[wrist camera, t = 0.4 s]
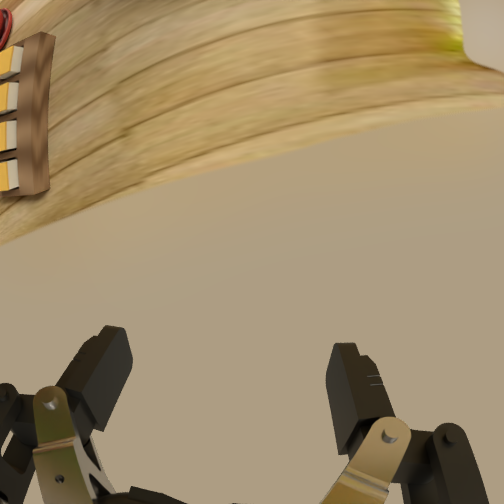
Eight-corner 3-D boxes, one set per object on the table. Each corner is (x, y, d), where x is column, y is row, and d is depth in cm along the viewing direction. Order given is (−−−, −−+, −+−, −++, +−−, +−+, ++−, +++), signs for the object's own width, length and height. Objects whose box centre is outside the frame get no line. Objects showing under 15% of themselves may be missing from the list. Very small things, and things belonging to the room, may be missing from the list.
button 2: (8, 89, 28) (-9, 89, 24) (24, 83, 28) (7, 82, 24) (7, 114, 30) (-10, 115, 26) (22, 108, 30) (5, 109, 26)
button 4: (7, 160, 33) (-10, 165, 29) (22, 157, 33) (5, 161, 29) (9, 185, 34) (-7, 191, 31) (24, 184, 34) (7, 190, 31)
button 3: (6, 124, 30) (-11, 126, 27) (22, 120, 30) (4, 121, 27) (6, 149, 32) (-10, 153, 28) (22, 146, 32) (4, 149, 28)
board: (8, 57, 27) (-6, 55, 24) (55, 36, 27) (40, 31, 24) (6, 192, 37) (-9, 198, 33) (50, 188, 37) (34, 194, 33)
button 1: (12, 56, 26) (-4, 54, 22) (28, 48, 26) (12, 45, 22) (9, 79, 27) (-7, 78, 24) (25, 72, 27) (8, 70, 24)
